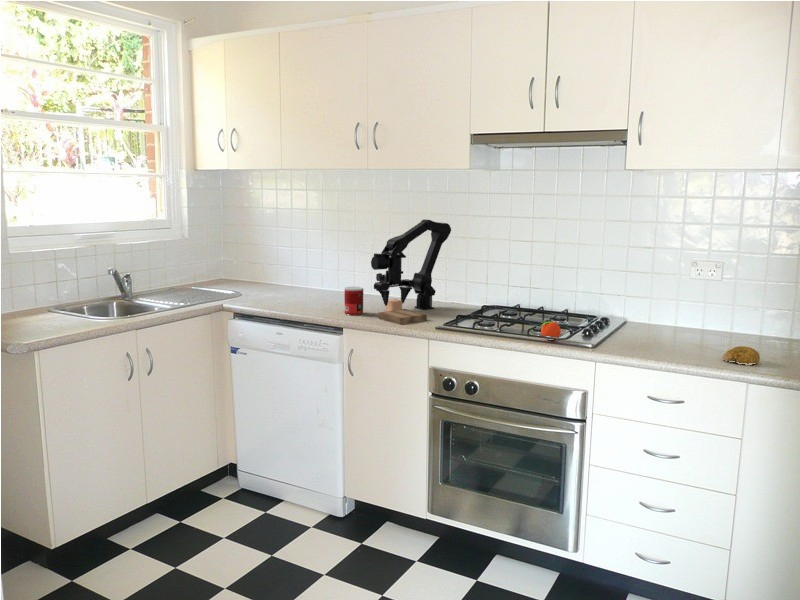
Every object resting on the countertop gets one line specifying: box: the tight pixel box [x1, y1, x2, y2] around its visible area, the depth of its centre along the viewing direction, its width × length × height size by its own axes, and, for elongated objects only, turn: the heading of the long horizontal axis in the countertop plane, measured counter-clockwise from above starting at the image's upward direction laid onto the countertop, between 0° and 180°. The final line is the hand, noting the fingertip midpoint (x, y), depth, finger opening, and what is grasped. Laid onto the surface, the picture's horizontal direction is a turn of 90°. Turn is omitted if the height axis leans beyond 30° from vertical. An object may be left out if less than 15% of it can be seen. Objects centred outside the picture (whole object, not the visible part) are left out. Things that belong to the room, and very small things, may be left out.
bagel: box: [721, 345, 761, 364], centre depth 216 cm, size 10×11×5 cm
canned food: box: [344, 286, 364, 316], centre depth 282 cm, size 8×8×11 cm
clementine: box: [539, 320, 562, 338], centre depth 240 cm, size 8×7×7 cm
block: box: [385, 298, 403, 312], centre depth 289 cm, size 5×5×5 cm
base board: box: [377, 308, 428, 325], centre depth 272 cm, size 14×14×2 cm
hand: (394, 304), depth 289 cm, fingers open, 9 cm apart
